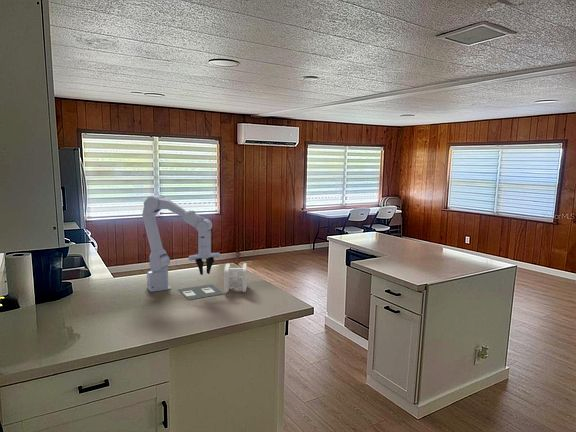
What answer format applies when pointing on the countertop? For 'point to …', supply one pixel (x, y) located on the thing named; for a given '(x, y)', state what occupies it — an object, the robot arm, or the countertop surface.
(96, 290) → the countertop surface
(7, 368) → the countertop surface
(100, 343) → the countertop surface
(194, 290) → the label mat
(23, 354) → the countertop surface
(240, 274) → the cable organizer
